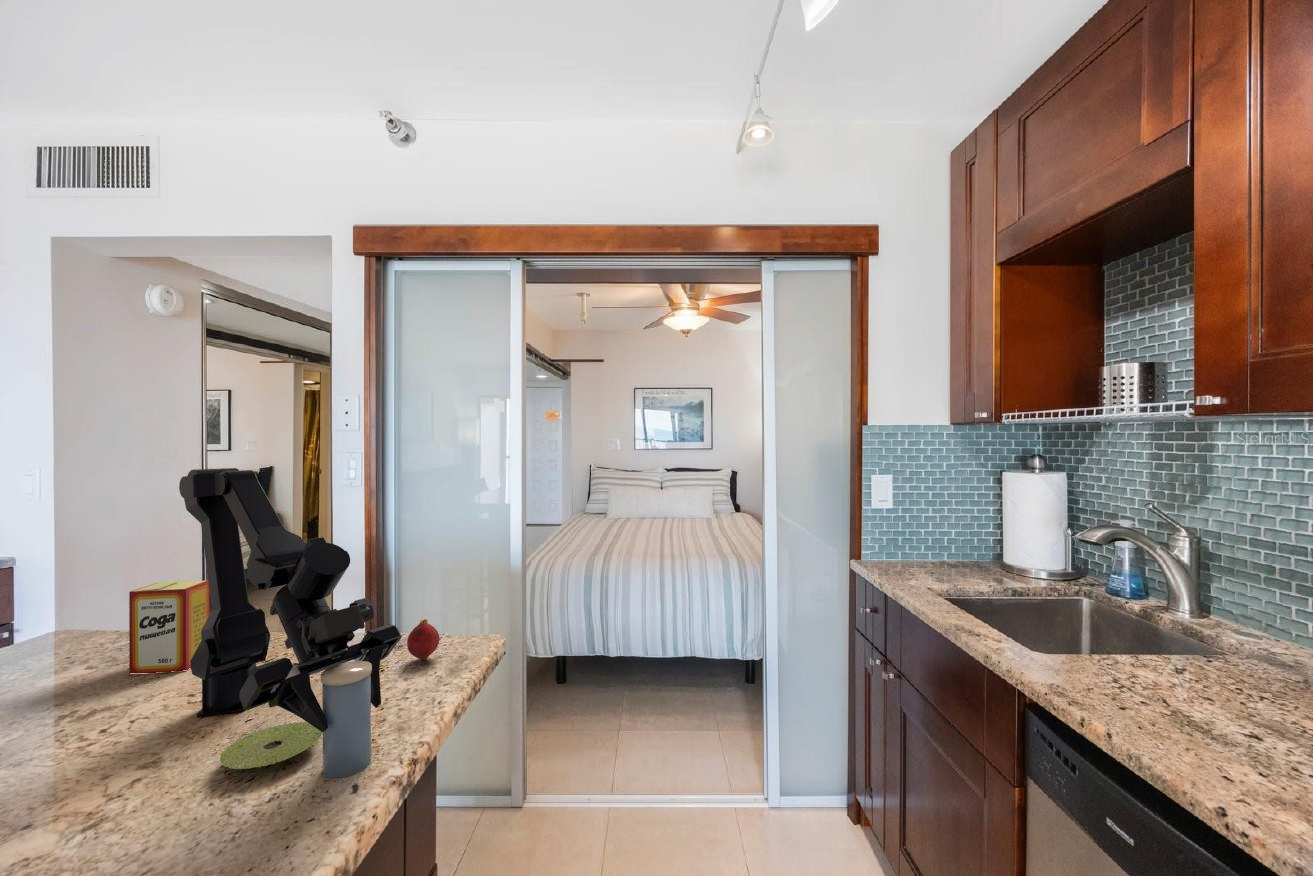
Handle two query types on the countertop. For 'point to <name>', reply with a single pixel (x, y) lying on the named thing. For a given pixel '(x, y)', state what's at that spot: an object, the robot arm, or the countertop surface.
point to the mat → (270, 745)
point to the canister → (346, 718)
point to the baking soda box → (166, 625)
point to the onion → (423, 640)
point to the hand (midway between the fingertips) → (353, 717)
